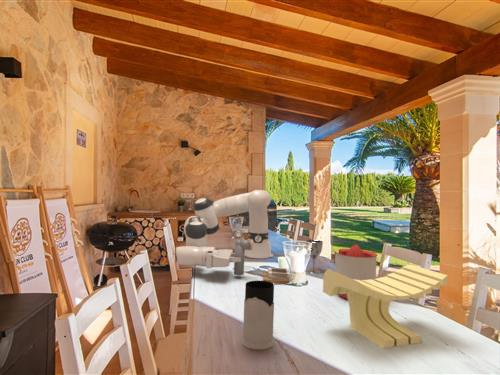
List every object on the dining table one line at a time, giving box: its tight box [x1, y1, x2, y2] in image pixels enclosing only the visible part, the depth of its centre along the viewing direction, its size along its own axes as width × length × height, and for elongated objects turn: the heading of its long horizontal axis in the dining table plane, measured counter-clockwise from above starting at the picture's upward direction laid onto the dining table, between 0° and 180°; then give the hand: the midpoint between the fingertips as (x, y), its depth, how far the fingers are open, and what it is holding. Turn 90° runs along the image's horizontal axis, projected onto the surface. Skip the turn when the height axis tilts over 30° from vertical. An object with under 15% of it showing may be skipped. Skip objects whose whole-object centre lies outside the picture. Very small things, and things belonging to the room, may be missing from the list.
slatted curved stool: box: [322, 264, 449, 349], centre depth 96 cm, size 30×16×18 cm, turn 109°
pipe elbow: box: [233, 239, 253, 276], centre depth 148 cm, size 8×5×15 cm, turn 88°
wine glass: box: [305, 239, 324, 274], centre depth 164 cm, size 8×8×15 cm
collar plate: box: [262, 267, 290, 285], centre depth 147 cm, size 14×14×4 cm
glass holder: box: [240, 280, 275, 350], centre depth 90 cm, size 9×14×15 cm, turn 163°
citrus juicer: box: [329, 244, 378, 300], centre depth 128 cm, size 16×17×20 cm
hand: (241, 258), depth 148 cm, fingers closed on pipe elbow, 4 cm apart
